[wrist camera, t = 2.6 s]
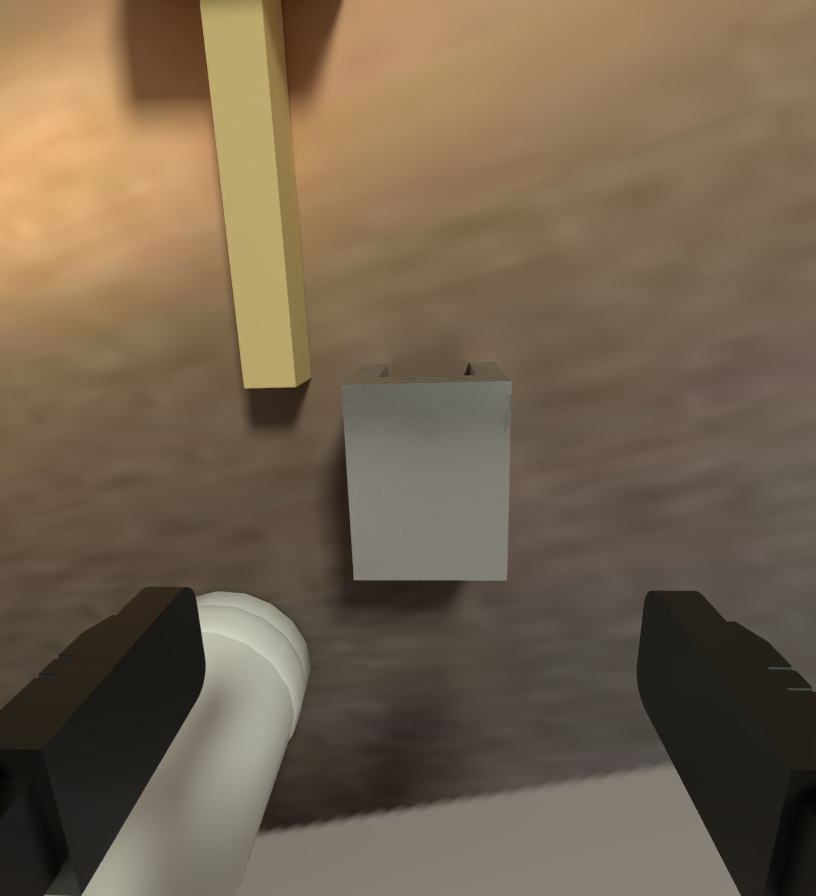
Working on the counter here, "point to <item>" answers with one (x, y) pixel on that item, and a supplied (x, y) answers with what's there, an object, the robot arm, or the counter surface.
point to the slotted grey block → (428, 473)
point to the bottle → (215, 760)
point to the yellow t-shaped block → (258, 187)
